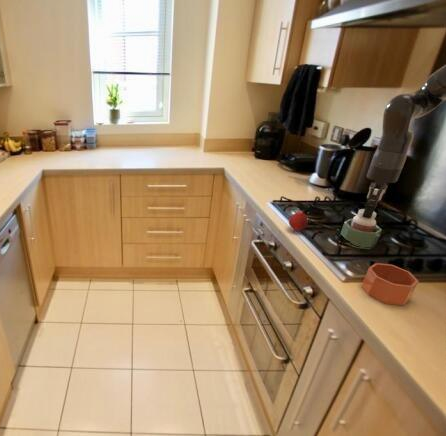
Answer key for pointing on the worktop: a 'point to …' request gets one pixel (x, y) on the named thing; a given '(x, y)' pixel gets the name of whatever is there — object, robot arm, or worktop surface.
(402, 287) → the terracotta pot
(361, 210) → the pill bottle
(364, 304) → the worktop surface
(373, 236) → the green pot
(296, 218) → the onion
